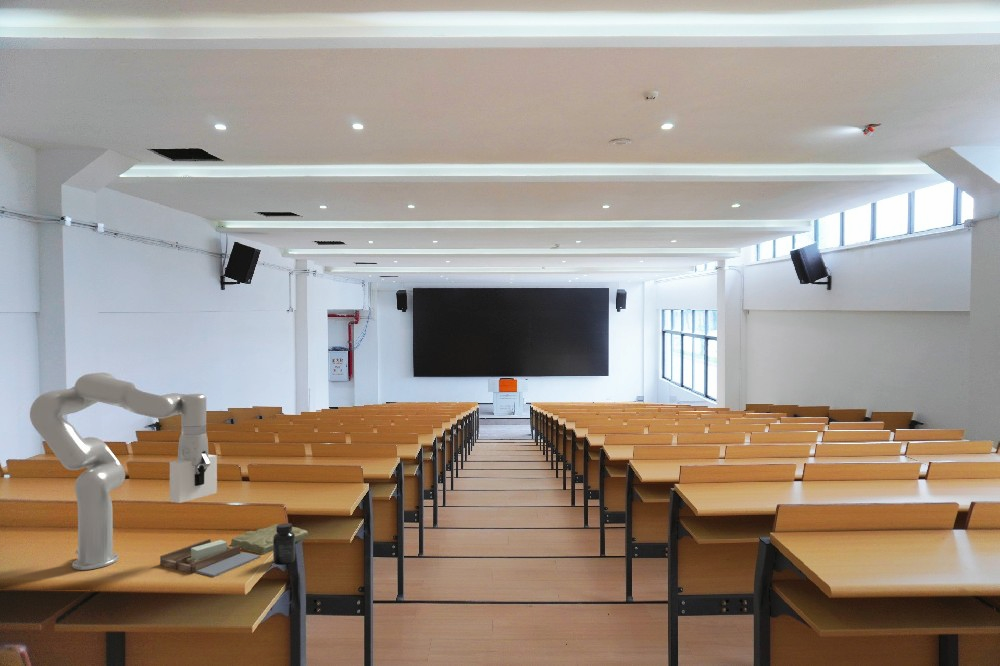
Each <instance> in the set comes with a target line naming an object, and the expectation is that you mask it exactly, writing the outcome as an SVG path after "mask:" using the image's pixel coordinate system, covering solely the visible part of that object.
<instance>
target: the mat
mask: <svg viewBox="0 0 1000 666" xmlns="http://www.w3.org/2000/svg"><path fill="white" fill-rule="evenodd" d="M260 558H261V555H260V554H259V555H258V554H253V553H250V552H244V551H243V552H240V554H238V555H235V556H233V557H230V558H228V559H225V560H223V561H220V562H218V563H215V564H212V565H210V566H207V567H205V568H202V569H200V570H197V572H196V574H200V575H204V576H209V577H212V578H215V577H217V576H219V575H222V574H225V573H227V572H229V571H231V570H234V569H236V568H238V567H241V566H244V565H245V564H249V563H250V562H253V561H255V559H256V560H258V559H260Z"/></svg>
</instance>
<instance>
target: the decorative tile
mask: <svg viewBox="0 0 1000 666" xmlns="http://www.w3.org/2000/svg"><path fill="white" fill-rule="evenodd" d="M277 525H279V523H278V524H275V523H274V524H272V525H270V526H268V527H265V528H259V529H256V530H250V531H246V532H245V533H242V534H239V535H238V536H236V537H233V538H232V539H231V541H230V547H233V546H234V547H235V546H238V545H239V546H240V548H241V549H242V550H244V549H245V550H244V551H248V550H250V552H253V553H257V554H261V553H262V555H266V554H268V553H270V552H273V537H274V535H275V534H276V533H277V532H276V527H277ZM292 532H293V533H294V534H295V543H297V542H298V541H301V540H304V539H306V538H309V537H308V536H309V532H308V530H305V529H301V528H300V527H295V526H292ZM241 549H240V550H241Z"/></svg>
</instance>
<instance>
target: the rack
mask: <svg viewBox="0 0 1000 666" xmlns="http://www.w3.org/2000/svg"><path fill="white" fill-rule="evenodd" d="M211 542H212V541H211V539H210V538H208V539H205V540H203V541H199V542H196V543H193V544H191V545H188V546H185V547H183V548H179V549H177V550H174V551H171V552H168V553H165V554H162V555H160V556H159V558H160V559H159V560H160V561H159V562H160V563H159V564H160V566H162V567H166V568H170V569H173V570H177V571H182V572H186V573H189V574H195V573H197V570H200V569H202V568H205V567H207V566H210V565H212V564H215V563H218V562H220V561H223V560H225V559H228V558H230V557H233V556H235V555H238V554H240V553H241V549H240V546H239V545H238V546H235V547H233V546H231V545H227V550H225V551H222V552H220V553H217V554H214V555H212V556H209V557H206V558H204V559H201V560H199V561H196V562H193V563H191V565H189V564H187V559H188V558H191V548H193V547H197V546H200V545H204V544H207V543H211Z"/></svg>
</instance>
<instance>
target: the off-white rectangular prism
mask: <svg viewBox="0 0 1000 666" xmlns="http://www.w3.org/2000/svg"><path fill="white" fill-rule="evenodd" d="M208 460H209V462H210V465H209V466H208V467H207V469H206V472H205V473H204V484H203V485H199V486H195V474H196V469H195V466H192V465H191V461H189V460H178V459H177V460H173V461H169V502H172V503H176V504H177V503H178V504H181V503H185V502H188V501H192V500H196V499H199V498H203V497H208V496H211V495H214V494H217V493H218V455H217V454H216V455H215V454H209V453H208ZM200 464H202V462H200ZM200 467H201V466H199V469H200Z"/></svg>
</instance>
